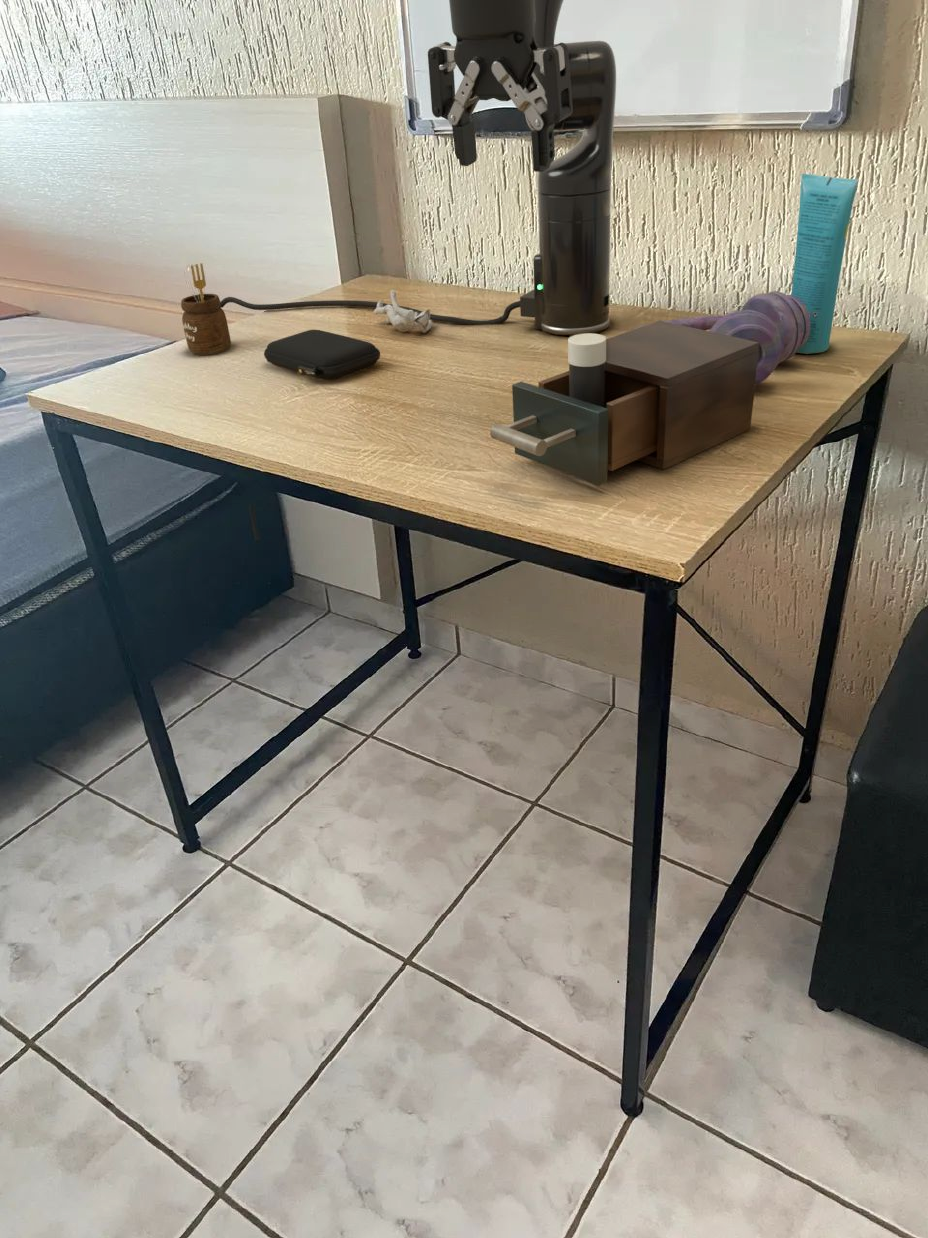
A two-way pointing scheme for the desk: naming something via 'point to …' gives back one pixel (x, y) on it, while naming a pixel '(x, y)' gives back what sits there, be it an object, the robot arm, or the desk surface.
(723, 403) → the cabinet
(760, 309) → the headphones
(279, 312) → the desk surface
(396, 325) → the grey animal figurine
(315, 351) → the carrying case
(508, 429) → the drawer
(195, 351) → the utensil holder
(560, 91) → the robot arm
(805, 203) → the tube
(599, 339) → the bottle
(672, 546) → the desk surface
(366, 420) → the desk surface
